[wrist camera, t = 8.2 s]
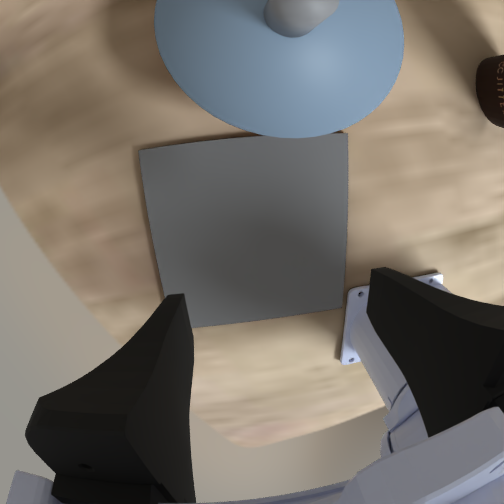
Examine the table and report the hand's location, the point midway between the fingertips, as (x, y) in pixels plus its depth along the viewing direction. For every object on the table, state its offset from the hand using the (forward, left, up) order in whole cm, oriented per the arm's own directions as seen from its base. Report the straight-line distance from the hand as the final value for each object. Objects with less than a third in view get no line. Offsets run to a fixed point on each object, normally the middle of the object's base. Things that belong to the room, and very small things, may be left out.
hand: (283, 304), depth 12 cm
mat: (0, +1, -10) cm, 10 cm away
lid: (-2, -12, -6) cm, 14 cm away
